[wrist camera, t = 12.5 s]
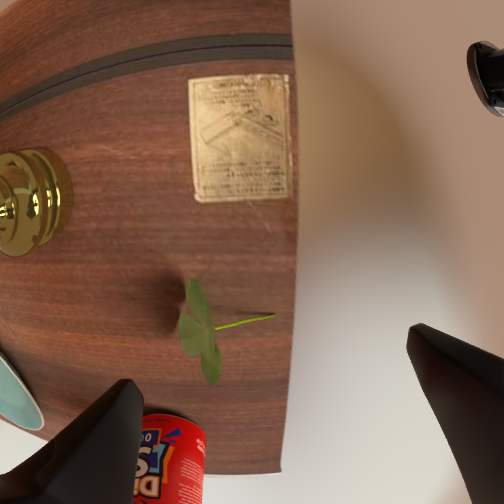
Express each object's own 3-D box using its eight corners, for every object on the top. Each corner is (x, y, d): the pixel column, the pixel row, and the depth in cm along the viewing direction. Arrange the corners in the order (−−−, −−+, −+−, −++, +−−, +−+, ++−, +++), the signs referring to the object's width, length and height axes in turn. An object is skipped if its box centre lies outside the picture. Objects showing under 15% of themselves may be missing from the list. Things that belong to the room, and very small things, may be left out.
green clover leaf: (235, 287, 25) (165, 298, 22) (286, 250, 19) (196, 259, 15) (258, 362, 23) (189, 384, 19) (320, 350, 17) (233, 386, 13)
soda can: (206, 447, 28) (199, 551, 13) (144, 436, 27) (122, 536, 13) (207, 414, 25) (198, 545, 11) (134, 401, 24) (100, 522, 10)
